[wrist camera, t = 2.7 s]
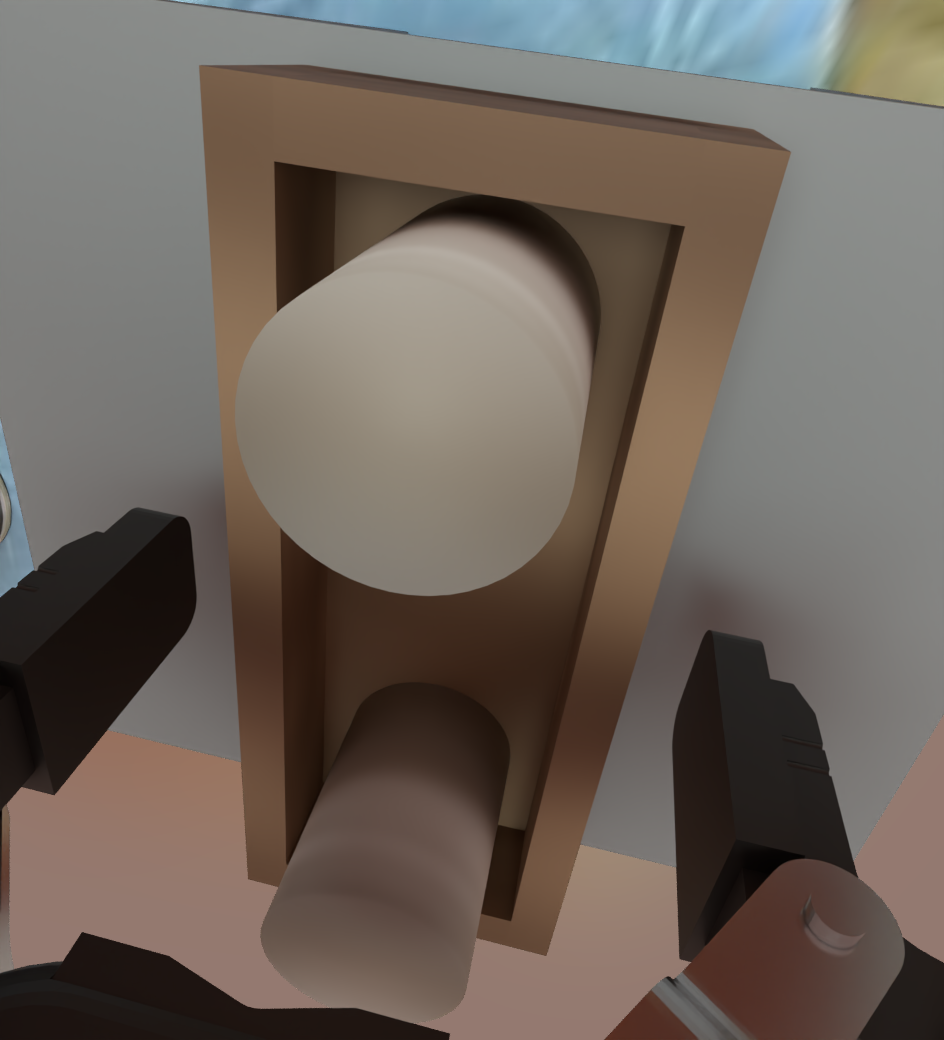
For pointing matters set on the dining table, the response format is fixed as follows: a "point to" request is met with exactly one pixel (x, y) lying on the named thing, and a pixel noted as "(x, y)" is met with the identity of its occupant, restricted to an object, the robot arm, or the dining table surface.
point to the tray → (629, 457)
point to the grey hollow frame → (729, 436)
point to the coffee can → (4, 511)
